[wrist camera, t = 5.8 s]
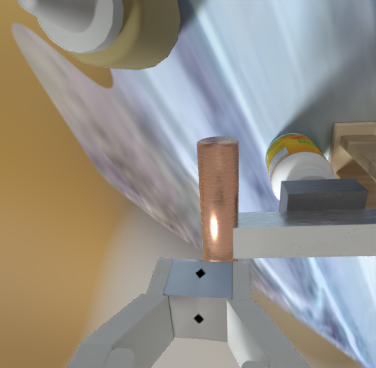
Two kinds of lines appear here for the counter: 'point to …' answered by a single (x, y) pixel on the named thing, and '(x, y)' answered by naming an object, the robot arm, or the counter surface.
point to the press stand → (355, 155)
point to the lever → (280, 213)
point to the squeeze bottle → (110, 29)
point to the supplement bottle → (295, 161)
